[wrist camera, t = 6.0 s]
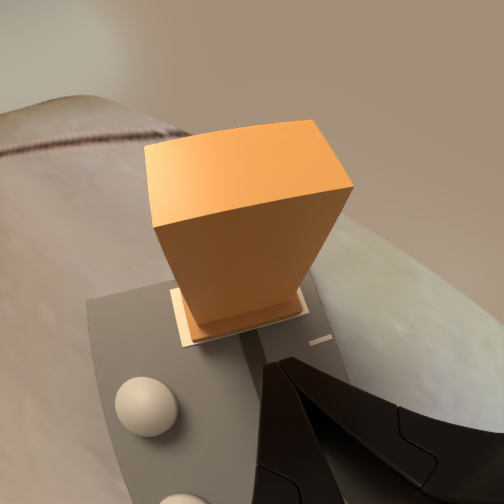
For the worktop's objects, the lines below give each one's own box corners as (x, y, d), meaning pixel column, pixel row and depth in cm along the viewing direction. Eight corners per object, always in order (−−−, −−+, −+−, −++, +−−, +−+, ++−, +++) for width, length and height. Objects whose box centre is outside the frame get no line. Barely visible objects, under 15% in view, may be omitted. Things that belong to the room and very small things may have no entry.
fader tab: (299, 314, 14) (379, 204, 6) (194, 343, 13) (137, 259, 5) (276, 250, 16) (315, 106, 8) (178, 273, 15) (128, 135, 7)
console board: (379, 506, 11) (397, 517, 9) (171, 563, 8) (164, 581, 7) (295, 258, 17) (303, 240, 15) (94, 307, 15) (77, 294, 13)
